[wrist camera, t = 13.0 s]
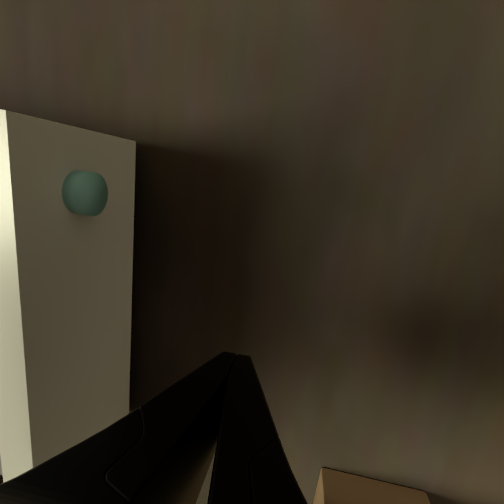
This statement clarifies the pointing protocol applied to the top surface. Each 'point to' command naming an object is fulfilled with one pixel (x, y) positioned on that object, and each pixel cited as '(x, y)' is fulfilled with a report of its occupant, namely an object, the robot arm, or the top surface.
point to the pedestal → (362, 490)
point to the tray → (62, 286)
